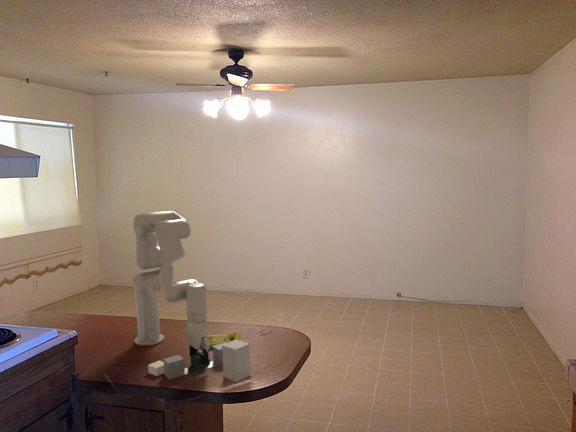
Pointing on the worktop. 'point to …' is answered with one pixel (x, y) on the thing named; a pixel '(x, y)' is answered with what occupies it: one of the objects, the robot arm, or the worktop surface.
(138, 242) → the robot arm
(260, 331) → the worktop surface
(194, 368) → the mount
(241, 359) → the supplement box
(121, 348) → the worktop surface
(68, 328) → the worktop surface
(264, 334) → the worktop surface
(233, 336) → the plastic component
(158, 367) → the block
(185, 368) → the rail
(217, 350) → the block
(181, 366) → the block
